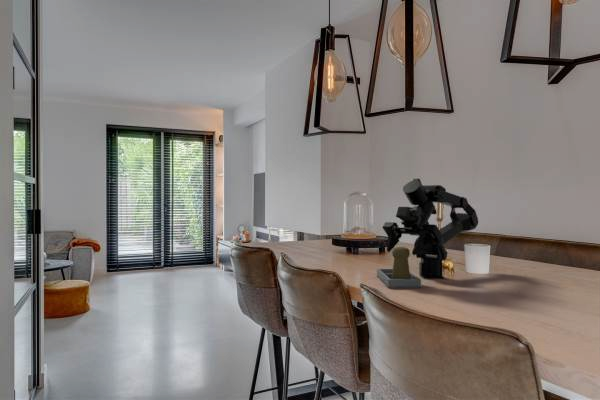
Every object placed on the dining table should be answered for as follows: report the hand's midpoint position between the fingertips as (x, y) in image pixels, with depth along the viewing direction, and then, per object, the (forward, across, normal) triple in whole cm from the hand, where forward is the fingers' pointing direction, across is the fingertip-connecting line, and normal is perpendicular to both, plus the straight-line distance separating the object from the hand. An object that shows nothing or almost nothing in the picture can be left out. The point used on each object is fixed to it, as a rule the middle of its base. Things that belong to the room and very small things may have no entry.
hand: (400, 252), depth 128 cm
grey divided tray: (+5, -3, +9) cm, 11 cm away
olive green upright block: (+6, 0, +7) cm, 10 cm away
